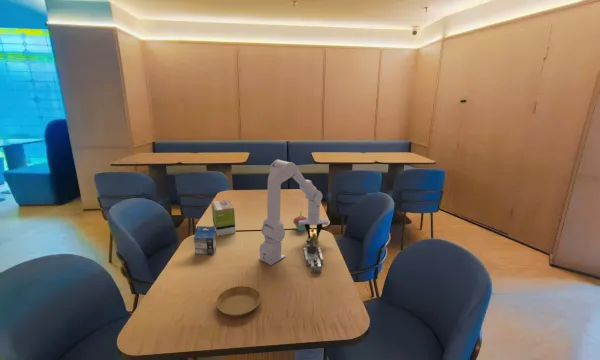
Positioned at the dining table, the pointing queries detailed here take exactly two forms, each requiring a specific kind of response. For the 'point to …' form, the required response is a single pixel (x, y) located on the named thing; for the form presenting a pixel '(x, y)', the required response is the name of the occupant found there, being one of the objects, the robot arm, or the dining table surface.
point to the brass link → (313, 236)
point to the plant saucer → (238, 300)
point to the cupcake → (296, 222)
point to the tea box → (223, 217)
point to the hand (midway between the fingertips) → (313, 237)
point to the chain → (313, 256)
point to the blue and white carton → (205, 240)
